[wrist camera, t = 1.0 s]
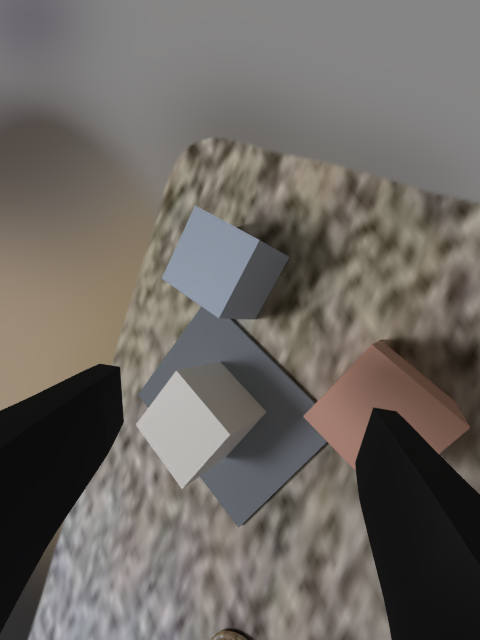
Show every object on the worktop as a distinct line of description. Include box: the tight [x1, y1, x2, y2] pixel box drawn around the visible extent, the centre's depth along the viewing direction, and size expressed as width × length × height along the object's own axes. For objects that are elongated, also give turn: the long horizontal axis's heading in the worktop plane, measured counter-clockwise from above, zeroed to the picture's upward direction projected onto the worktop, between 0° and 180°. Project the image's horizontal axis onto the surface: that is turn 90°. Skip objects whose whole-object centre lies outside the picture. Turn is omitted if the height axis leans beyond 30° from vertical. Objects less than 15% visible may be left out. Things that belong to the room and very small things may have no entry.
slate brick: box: [162, 206, 290, 319], centre depth 20 cm, size 5×5×5 cm
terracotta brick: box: [303, 340, 470, 471], centre depth 16 cm, size 5×5×5 cm
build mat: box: [138, 307, 327, 527], centre depth 23 cm, size 12×10×1 cm
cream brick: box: [136, 362, 266, 489], centre depth 20 cm, size 5×5×5 cm
